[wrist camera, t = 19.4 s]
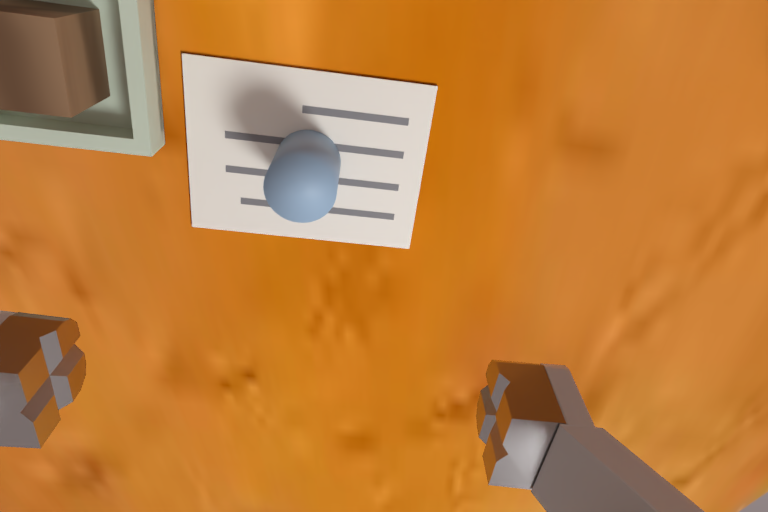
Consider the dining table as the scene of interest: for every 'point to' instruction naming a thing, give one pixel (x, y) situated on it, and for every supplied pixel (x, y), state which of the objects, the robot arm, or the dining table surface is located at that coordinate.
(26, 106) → the walnut block
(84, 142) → the tray
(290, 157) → the blue cylinder
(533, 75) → the dining table surface
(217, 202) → the letter
